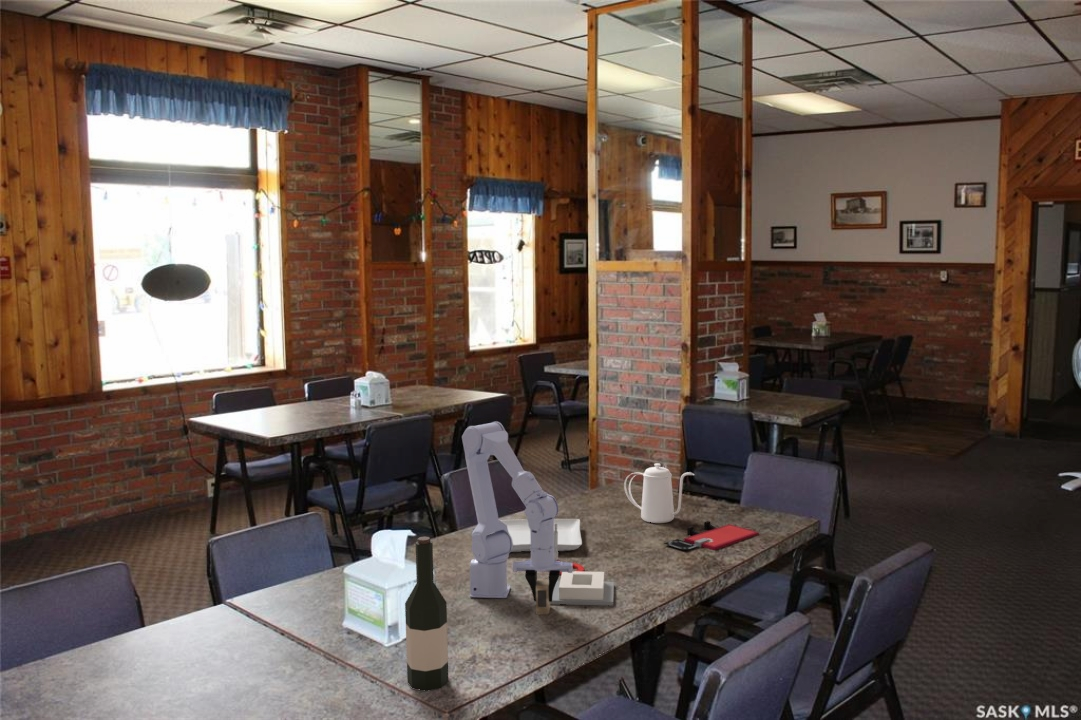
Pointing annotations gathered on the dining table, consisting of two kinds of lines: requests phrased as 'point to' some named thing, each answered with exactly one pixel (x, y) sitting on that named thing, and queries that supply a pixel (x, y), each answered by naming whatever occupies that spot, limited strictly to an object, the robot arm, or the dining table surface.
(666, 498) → the coffeepot
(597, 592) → the slotted block
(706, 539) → the red board with handle
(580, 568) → the tow hook
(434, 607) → the wine bottle
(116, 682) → the dining table surface
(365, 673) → the dining table surface
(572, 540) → the square plate
